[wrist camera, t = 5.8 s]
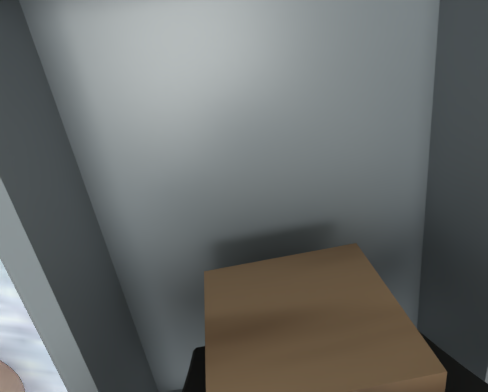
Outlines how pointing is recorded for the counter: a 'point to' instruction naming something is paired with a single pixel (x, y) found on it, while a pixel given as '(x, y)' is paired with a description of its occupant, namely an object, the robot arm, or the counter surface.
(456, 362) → the robot arm
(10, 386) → the terracotta cylinder
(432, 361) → the walnut cube
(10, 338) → the counter surface
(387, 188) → the tote
